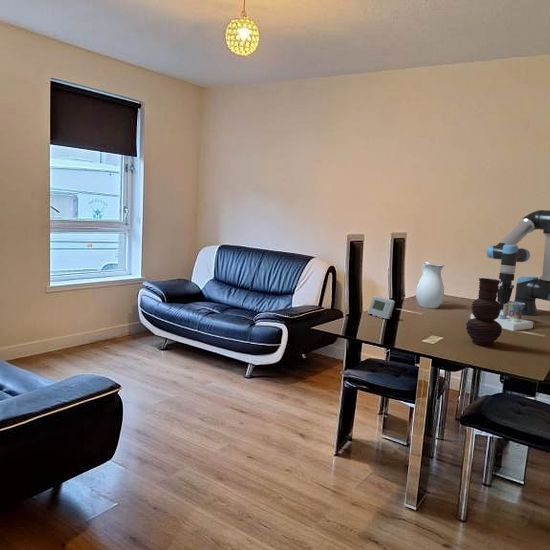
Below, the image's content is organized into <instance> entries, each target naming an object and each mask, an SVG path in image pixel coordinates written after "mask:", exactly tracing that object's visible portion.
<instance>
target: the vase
mask: <svg viewBox="0 0 550 550" xmlns="http://www.w3.org/2000/svg"><path fill="white" fill-rule="evenodd" d="M500 281H501V280H500V279H499V280H498V279H496V278H495V279H494V278H490V277H487V278H485V277H482V278H481V277H478V283H479V285H478V286H479V287H478V295H477V296H478V298H476V299H474V300H473V301H472V303H471V314H473V315H474V317H475V318H474V319H470V318H469V320H467V322H466V323H465V324H466V325H465V326H466V327H465V329H466V333H467V334H468V336H469V337H470V339H471V342H472V343H473V344H474V343H476V344H475V345H478V344H480V345H479V346H483V345H490V346H492V344H493V343H494V342H495V341H497V340H498V338H499V337H501V334H502V331H503V328H502V326H501V325H500V324H499V323H498V322H497V321H495V319H497V318H498V317H499V315H500V311H501V306H500V303H498V300H497V291H498V288H499V286H498V285H500Z"/></svg>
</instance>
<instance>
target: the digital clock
mask: <svg viewBox="0 0 550 550" xmlns="http://www.w3.org/2000/svg"><path fill="white" fill-rule="evenodd" d="M395 305H396V301H395V300H393V299H389V298H387V297H383V296H378V295H373V297H372V299H371V302H370V303H369V306H368V310H367V314H368V313H369V314H368V315H370V314H372V315H375V316H379V317H381V318H384V319H383V320H386V319H389V320H390V319H391V318H392V314H393V311H394V307H395ZM372 315H371V316H372ZM375 316H374V317H375ZM390 317H391V318H390ZM381 318H380V319H381Z"/></svg>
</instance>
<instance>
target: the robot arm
mask: <svg viewBox="0 0 550 550" xmlns="http://www.w3.org/2000/svg"><path fill="white" fill-rule="evenodd" d="M535 230H541V231H543V232H542V233H543V235H544V236H545V240H544V241H545V242H544V243H545V244H544V253H543V264H542V275H541V276H539V277H538V276H519V277H518V278H517V280H516V288H515V295H514V300H513V301H515V302H521V303H525V306H524V307H523V309H522V313H521V315H525V316H537V314H538V308H537V305H536V303H537V302H536V299H537V300H543V301H547V302H550V210H549V209H548V210H547V209H546V210H545V209H538V210H535V211H532V212H531V213H529V214H527V215H525V216H524V217H522V218H521V219H520V220H519V222H518V224H517V225H516V226H515V227H514V228H513V229H512V230H511V231H510V232H509V233H507V235H505V236H504V238H502V239H501V241H499V242H498V243H497V244H496V245H489V246H487V249H486V256H487V257H488V259H494V260H499V261H500V260H501V261H500V267H499V275H498V279H499V280H500V283H499V285H498V286H499V288H498V291H497V297H496V301H497V302H498V303H499V304H500V306H501V311H500V315H503V316H504V315H506V309H507V305H508V303H507V302H509V301H511V297H512V292H513V290H514V287H515V285H513V281H515V273H516V267H517V263H525V262H528V260H529V259H530V258H531V254H530V251H529V250H528V249H526V248H522V247H521V248H519V246H518V243H520V242H521V241H522V240H523V239H524V238H525V237H526V236H527V235H528V234H529V233H533V232H534V231H535Z"/></svg>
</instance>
